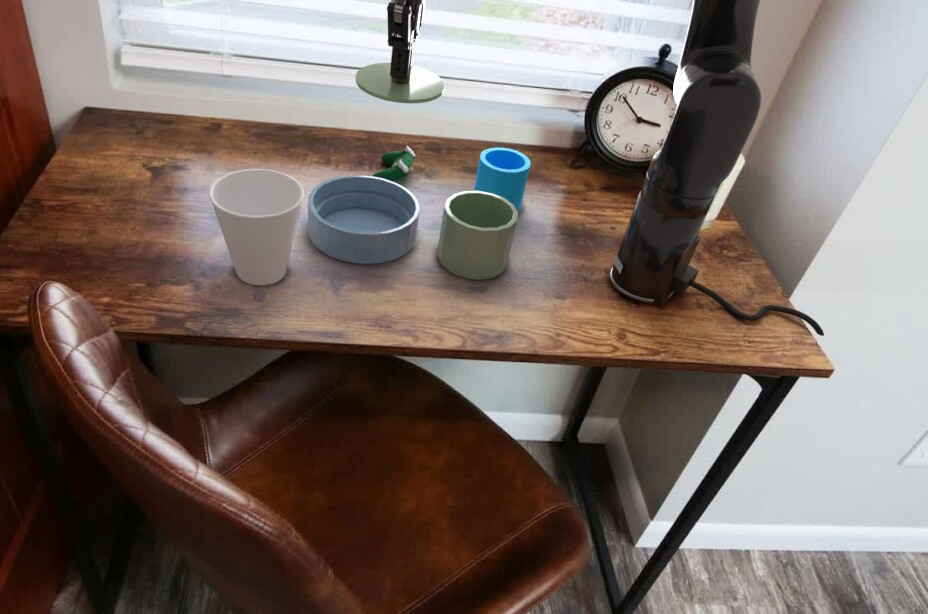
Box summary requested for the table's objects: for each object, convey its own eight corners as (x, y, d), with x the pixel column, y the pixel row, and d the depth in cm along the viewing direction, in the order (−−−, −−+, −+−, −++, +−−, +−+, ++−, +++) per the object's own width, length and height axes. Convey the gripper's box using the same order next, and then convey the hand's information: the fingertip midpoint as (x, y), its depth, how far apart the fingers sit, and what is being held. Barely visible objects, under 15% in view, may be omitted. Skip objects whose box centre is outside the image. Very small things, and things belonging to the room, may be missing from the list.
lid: (449, 80, 94) (456, 34, 90) (435, 115, 86) (442, 65, 82) (366, 64, 95) (370, 17, 91) (345, 97, 86) (347, 47, 82)
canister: (509, 246, 108) (520, 198, 103) (503, 285, 100) (514, 236, 95) (443, 233, 109) (450, 185, 103) (432, 271, 101) (439, 221, 96)
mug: (523, 219, 114) (533, 174, 109) (473, 215, 114) (481, 169, 108) (515, 182, 123) (524, 139, 118) (469, 178, 123) (476, 134, 117)
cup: (210, 251, 99) (201, 172, 91) (293, 241, 103) (292, 164, 95) (224, 303, 91) (216, 221, 83) (314, 290, 95) (314, 211, 87)
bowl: (437, 238, 108) (441, 207, 104) (363, 280, 98) (365, 248, 94) (361, 195, 115) (362, 164, 111) (285, 231, 105) (284, 199, 101)
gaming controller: (382, 197, 118) (409, 179, 115) (368, 179, 117) (395, 161, 114) (394, 171, 125) (420, 154, 122) (381, 155, 124) (407, 137, 120)
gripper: (440, -63, 72) (420, 100, 84) (459, -89, 82) (438, 59, 94) (369, -76, 72) (358, 88, 84) (397, -100, 83) (384, 49, 94)
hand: (401, 72), depth 89 cm, fingers closed on lid, 2 cm apart
